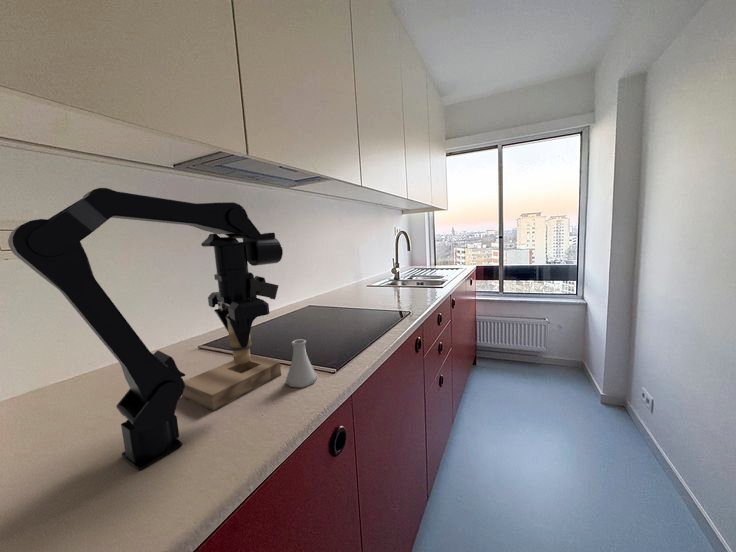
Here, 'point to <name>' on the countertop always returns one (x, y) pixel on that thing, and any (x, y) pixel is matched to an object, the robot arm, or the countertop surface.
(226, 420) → the countertop surface
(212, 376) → the wooden peg board
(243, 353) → the oak peg
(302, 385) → the flask
